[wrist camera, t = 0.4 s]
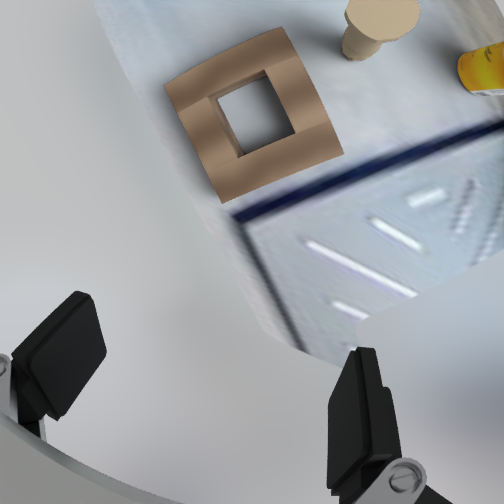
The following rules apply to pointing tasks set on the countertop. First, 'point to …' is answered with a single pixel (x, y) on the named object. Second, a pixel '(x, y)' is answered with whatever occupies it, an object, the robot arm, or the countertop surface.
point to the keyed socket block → (220, 133)
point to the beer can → (483, 70)
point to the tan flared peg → (376, 25)
